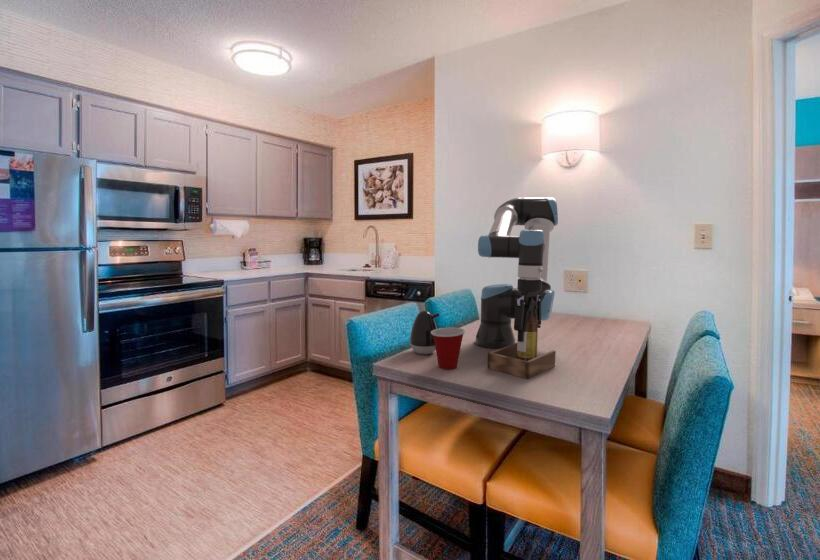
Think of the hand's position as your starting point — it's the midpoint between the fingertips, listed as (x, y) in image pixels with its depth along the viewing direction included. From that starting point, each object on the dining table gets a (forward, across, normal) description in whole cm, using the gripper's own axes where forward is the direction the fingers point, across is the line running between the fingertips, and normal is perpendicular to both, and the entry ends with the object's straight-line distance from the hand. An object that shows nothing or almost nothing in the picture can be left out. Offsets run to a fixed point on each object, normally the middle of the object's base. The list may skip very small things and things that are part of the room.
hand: (526, 348), depth 136 cm
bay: (+5, -3, 0) cm, 6 cm away
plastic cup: (+6, -20, +17) cm, 27 cm away
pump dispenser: (+6, -13, +33) cm, 36 cm away
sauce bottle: (+4, 0, 0) cm, 4 cm away
